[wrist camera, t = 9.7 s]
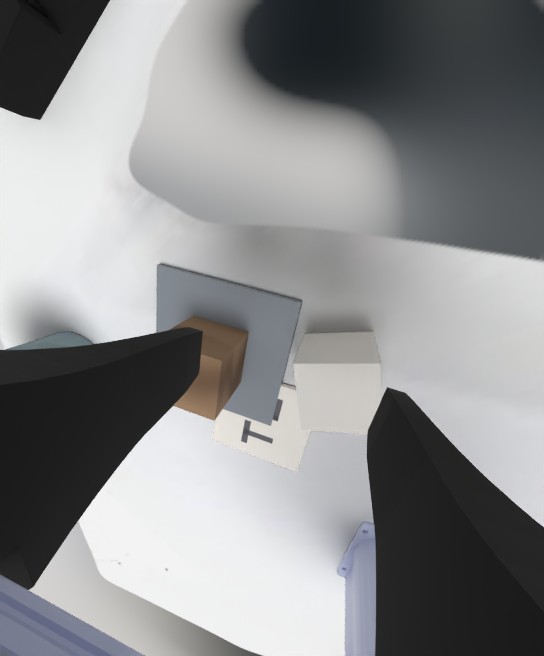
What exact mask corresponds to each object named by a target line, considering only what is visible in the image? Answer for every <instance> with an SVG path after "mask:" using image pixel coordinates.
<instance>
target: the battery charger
mask: <svg viewBox="0 0 544 656" xmlns="http://www.w3.org/2000/svg"><path fill="white" fill-rule="evenodd" d="M109 1H110V0H0V107H1V108H4V109H6V110H9V111H11V112H14V113H16V114H19V115H21V116H25V117H29V118H34V119H39V120H40V119H41V118H42V116H43V114H44V113H45V111H46V109H47V107H48V106H49V104H50V102H51V101H52V99H53V97H54V95H55V94H56V92H57V90H58V88H59V87H60V85H61V83H62V82H63V80H64V78H65V76H66V75H67V73H68V71H69V70H70V68H71V66H72V64H73V63H74V61H75V59H76V58H77V56H78V54H79V52H80V51H81V49H82V47H83V46H84V44H85V42H86V40H87V39H88V37H89V35H90V34H91V32H92V30H93V28H94V27H95V25H96V23H97V22H98V20H99V18H100V16H101V15H102V13H103V11H104V9H105V8H106V6H107V4H108V3H109Z"/></svg>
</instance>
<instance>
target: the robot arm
mask: <svg viewBox="0 0 544 656" xmlns="http://www.w3.org/2000/svg"><path fill="white" fill-rule="evenodd" d="M202 336H203V331H201V330H197V329H194V328H191V327H184V328H178V329H172V330H168V331H163V332H158V333H154V334H149V335H144V336H139V337H134V338H129V339H123V340H118V341H112V342H106V343H100V344H92V345H84V346H75V347H63V348H46V349H29V350H0V656H144V655H142V654H140V653H139V652H137V651H135V650H134V649H132V648H130V647H128V646H126V645H125V644H123V643H121V642H119V641H117V640H116V639H114V638H112V637H110V636H109V635H107V634H105V633H103V632H101V631H100V630H98V629H96V628H94V627H93V626H91V625H89V624H87V623H85V622H84V621H82V620H80V619H78V618H77V617H75V616H73V615H71V614H69V613H68V612H66V611H64V610H62V609H60V608H59V607H57V606H55V605H53V604H51V603H50V602H48V601H46V600H44V599H43V598H41V597H39V596H37V595H35V594H34V593H32V592H30V591H28V590H29V589H31V588H32V587H33V586H34V585H35V583H36V582H37V580H38V579H39V577H40V576H41V574H42V573H43V571H44V570H45V568H46V567H47V565H48V564H49V562H50V561H51V559H52V558H53V556H54V555H55V553H56V552H57V550H58V549H59V547H60V546H61V545H62V543H63V542H64V540H65V539H66V537H67V536H68V534H69V533H70V531H71V530H72V528H73V527H74V525H75V524H76V523H77V521H78V520H79V519H80V517H81V516H82V515H83V513H84V512H85V510H86V509H87V508H88V506H89V505H90V503H91V502H92V501H93V499H94V498H95V496H96V495H97V494H98V492H99V491H100V490H101V488H102V487H103V486H104V485H105V483H106V482H107V481H108V479H109V478H110V477H111V475H112V474H113V473H114V471H115V470H116V469H117V467H118V466H119V465H120V464H121V462H122V461H123V460H124V459H125V457H126V456H127V455H128V454H129V452H130V451H131V450H132V449H133V447H134V446H135V445H136V444H137V443H138V442H139V441H140V439H141V438H142V437H143V436H144V435H145V434H146V433H147V432H148V431H149V430H150V429H151V428H152V427H153V426H154V425H155V424H156V423H157V422H158V421H159V420H160V419H161V417H162V416H163V415H164V414H165V413H166V412H167V411H168V410H169V409H170V408H171V407H172V406H173V405H174V404H175V403H176V402H177V401H178V400H179V399H180V398H181V397H182V396H183V395H184V394H185V393H186V391H187V390H188V389H189V387H190V386H191V385H192V383H193V382H194V380H195V379H196V378H197V376H198V375H199V370H200V359H201V348H202ZM367 462H368V472H369V482H370V491H371V500H372V509H373V518H374V524H371V523H369V522H363V523H362V524H361V526H360V527H359V529H358V531H357V533H356V535H355V537H354V538H353V540H352V542H351V544H350V546H349V548H348V549H347V551H346V553H345V555H344V557H343V559H342V560H341V562H340V564H339V566H338V568H337V574H338V575H340V576H342V577H344V578H345V656H544V527H543V526H541V525H540V524H539V523H538V522H536V521H535V520H534V519H533V518H532V517H530V516H529V515H528V514H527V513H526V512H524V511H523V510H522V509H521V508H520V507H518V506H517V505H516V504H515V503H514V502H513V501H512V500H511V499H509V498H508V497H507V496H506V495H505V494H504V493H503V492H502V491H500V490H499V489H498V488H497V487H496V486H495V485H494V484H493V483H491V482H490V481H489V480H488V479H487V478H486V477H485V476H484V475H483V474H482V473H481V472H480V471H479V470H478V469H477V468H476V467H475V466H474V465H473V464H472V463H471V462H470V461H469V460H468V459H467V458H466V457H465V456H464V455H463V454H462V453H461V452H460V451H459V450H458V449H457V448H456V447H455V446H454V445H453V444H452V443H451V442H450V441H449V440H448V439H447V438H446V437H445V436H444V434H443V433H442V432H441V431H440V430H439V429H438V428H437V427H436V426H435V425H434V423H433V422H432V421H431V420H430V419H429V418H428V417H427V416H426V414H425V413H424V412H423V411H422V410H421V409H420V408H419V407H418V406H417V404H416V403H415V402H414V401H413V400H412V399H411V398H410V397H409V396H408V395H407V394H406V393H404V392H401V391H397V390H394V389H391V388H388V387H387V389H386V391H385V393H384V396H383V398H382V400H381V402H380V404H379V407H378V409H377V411H376V413H375V415H374V418H373V420H372V422H371V424H370V426H369V429H368V436H367Z"/></svg>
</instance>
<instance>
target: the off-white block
mask: <svg viewBox="0 0 544 656" xmlns="http://www.w3.org/2000/svg"><path fill="white" fill-rule="evenodd" d="M293 370H294V377H295V385H296V393H297V400H298V408H299V416H300V423H301V430H309V431H322V432H335V433H349V434H362V435H368V429H369V426H370V424H371V422H372V420H373V418H374V415H375V413H376V411H377V409H378V407H379V404H380V402H381V361H380V357H379V353H378V348H377V344H376V339H375V335H374V331H367V332H339V333H311V334H305V335H304V337H303V340H302V342H301V345H300V347H299V350H298V352H297V354H296V357H295V359H294V362H293Z"/></svg>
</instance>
